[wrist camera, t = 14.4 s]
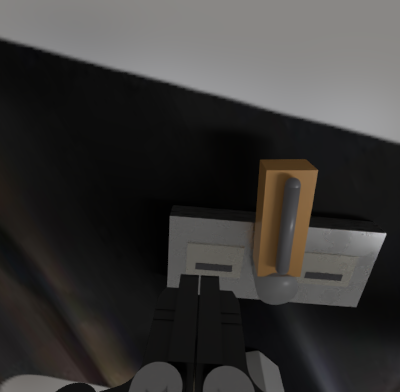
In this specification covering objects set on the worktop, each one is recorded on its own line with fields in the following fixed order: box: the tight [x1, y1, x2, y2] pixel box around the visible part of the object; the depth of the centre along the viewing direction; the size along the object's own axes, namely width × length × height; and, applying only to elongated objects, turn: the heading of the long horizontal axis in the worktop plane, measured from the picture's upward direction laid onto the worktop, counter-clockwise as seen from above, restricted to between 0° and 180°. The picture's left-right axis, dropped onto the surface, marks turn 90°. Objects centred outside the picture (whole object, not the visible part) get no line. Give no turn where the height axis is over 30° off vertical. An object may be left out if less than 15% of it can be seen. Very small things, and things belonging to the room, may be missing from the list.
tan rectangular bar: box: [252, 159, 318, 305], centre depth 25 cm, size 14×4×4 cm, turn 1°
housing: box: [167, 205, 386, 307], centre depth 31 cm, size 22×10×3 cm, turn 86°
